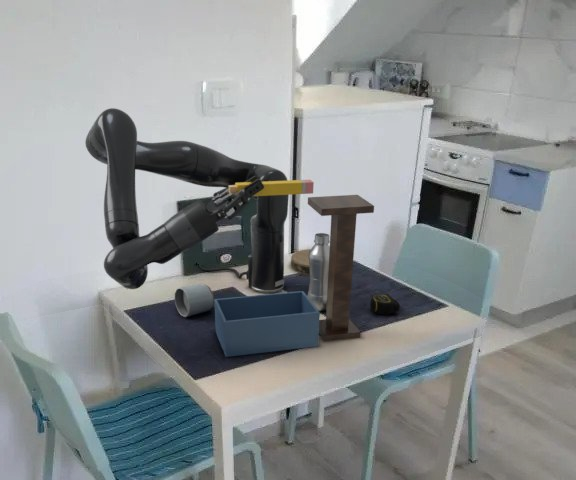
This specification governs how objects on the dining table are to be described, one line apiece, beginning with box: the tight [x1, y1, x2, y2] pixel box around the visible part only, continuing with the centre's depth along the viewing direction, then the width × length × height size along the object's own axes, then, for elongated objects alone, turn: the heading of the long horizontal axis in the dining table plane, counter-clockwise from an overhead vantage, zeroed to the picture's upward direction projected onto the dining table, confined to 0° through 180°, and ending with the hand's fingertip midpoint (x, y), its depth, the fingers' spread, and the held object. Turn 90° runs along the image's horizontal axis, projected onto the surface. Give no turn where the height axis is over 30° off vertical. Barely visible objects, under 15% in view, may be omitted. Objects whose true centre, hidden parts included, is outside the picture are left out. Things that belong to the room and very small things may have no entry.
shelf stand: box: [307, 194, 375, 342], centre depth 145 cm, size 12×10×32 cm
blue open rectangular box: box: [213, 290, 321, 358], centre depth 146 cm, size 22×13×9 cm, turn 106°
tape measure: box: [369, 293, 401, 315], centre depth 163 cm, size 7×7×4 cm
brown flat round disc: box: [290, 248, 311, 276], centre depth 192 cm, size 16×16×3 cm
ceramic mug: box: [174, 283, 215, 318], centre depth 160 cm, size 11×8×8 cm
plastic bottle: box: [306, 232, 330, 312], centre depth 160 cm, size 6×7×20 cm
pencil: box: [229, 179, 314, 196], centre depth 131 cm, size 18×2×2 cm, turn 106°
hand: (259, 181), depth 129 cm, fingers closed on pencil, 2 cm apart
